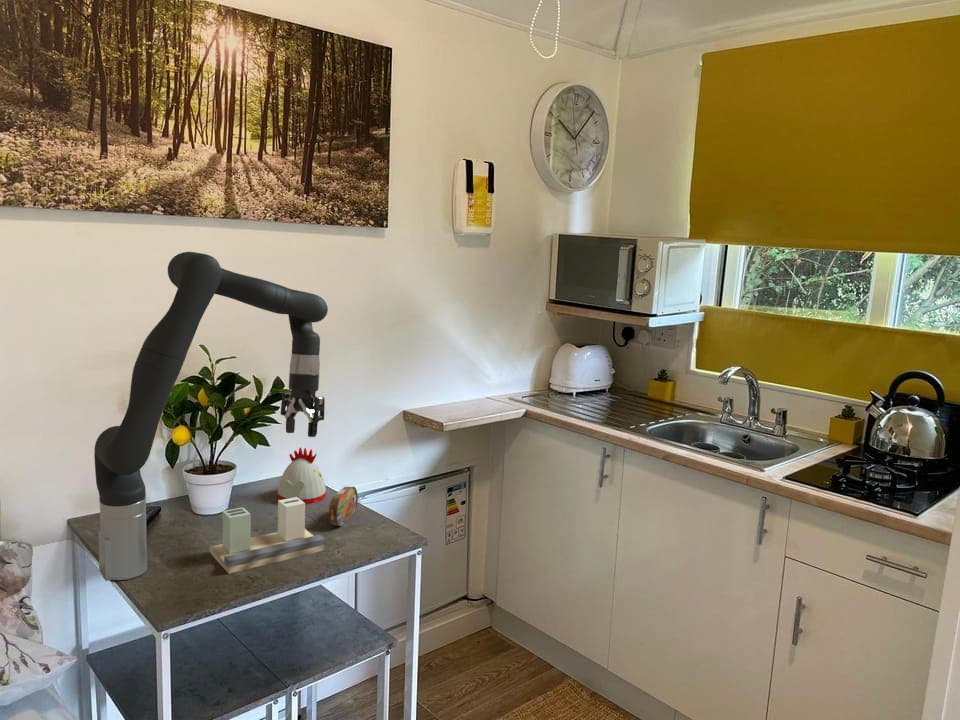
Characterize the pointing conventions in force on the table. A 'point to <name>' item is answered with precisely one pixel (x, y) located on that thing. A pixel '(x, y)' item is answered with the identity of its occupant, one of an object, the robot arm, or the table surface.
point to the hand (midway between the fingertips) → (300, 434)
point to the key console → (267, 551)
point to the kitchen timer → (302, 479)
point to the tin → (343, 505)
